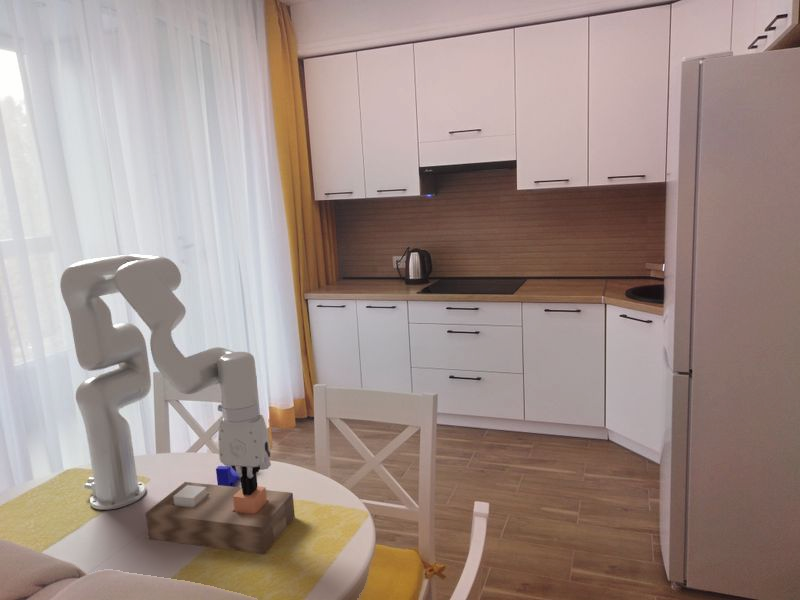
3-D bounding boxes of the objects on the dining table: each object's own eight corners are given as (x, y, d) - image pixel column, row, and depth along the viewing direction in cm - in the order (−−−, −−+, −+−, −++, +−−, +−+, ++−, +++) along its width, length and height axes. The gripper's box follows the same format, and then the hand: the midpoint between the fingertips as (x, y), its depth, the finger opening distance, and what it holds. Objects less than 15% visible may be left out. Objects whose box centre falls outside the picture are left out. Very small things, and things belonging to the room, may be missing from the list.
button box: (148, 538, 128) (145, 513, 127) (188, 505, 141) (185, 481, 140) (264, 554, 120) (262, 527, 119) (294, 517, 134) (292, 492, 132)
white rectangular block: (177, 527, 131) (173, 496, 130) (190, 515, 136) (187, 485, 134) (196, 529, 130) (193, 498, 128) (209, 517, 134) (206, 487, 133)
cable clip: (232, 468, 160) (230, 447, 158) (248, 468, 159) (246, 448, 158) (212, 490, 148) (210, 468, 147) (229, 491, 147) (227, 469, 146)
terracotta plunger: (236, 528, 127) (232, 496, 125) (248, 516, 131) (245, 485, 130) (257, 531, 125) (254, 498, 124) (268, 518, 130) (265, 487, 129)
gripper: (199, 416, 122) (209, 497, 125) (264, 420, 118) (273, 504, 121) (220, 403, 129) (228, 480, 133) (281, 406, 125) (289, 486, 128)
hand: (250, 491), depth 127 cm, fingers closed
